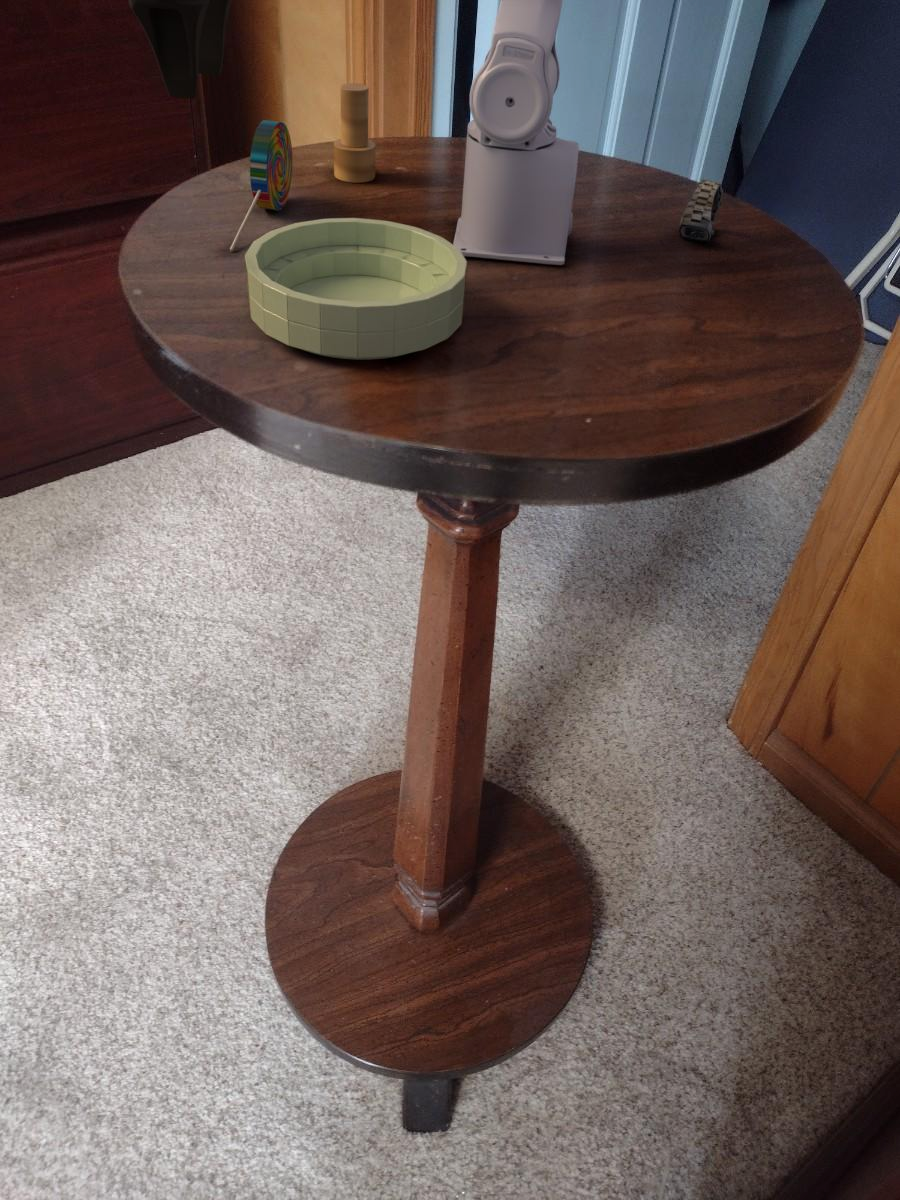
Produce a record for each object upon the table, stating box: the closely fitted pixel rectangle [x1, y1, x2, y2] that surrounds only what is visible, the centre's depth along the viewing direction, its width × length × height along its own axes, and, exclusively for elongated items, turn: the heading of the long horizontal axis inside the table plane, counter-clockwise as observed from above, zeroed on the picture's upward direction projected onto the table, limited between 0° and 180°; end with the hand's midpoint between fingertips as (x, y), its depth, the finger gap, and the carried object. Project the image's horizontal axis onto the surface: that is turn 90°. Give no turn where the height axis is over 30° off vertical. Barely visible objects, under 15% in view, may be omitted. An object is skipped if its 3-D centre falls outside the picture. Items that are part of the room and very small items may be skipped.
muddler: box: [333, 82, 376, 184], centre depth 93 cm, size 4×4×8 cm
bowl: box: [244, 217, 468, 361], centre depth 70 cm, size 16×16×4 cm
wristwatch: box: [678, 178, 724, 243], centre depth 87 cm, size 3×5×5 cm
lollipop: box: [229, 119, 294, 252], centre depth 83 cm, size 7×1×15 cm
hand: (195, 84), depth 80 cm, fingers open, 7 cm apart
